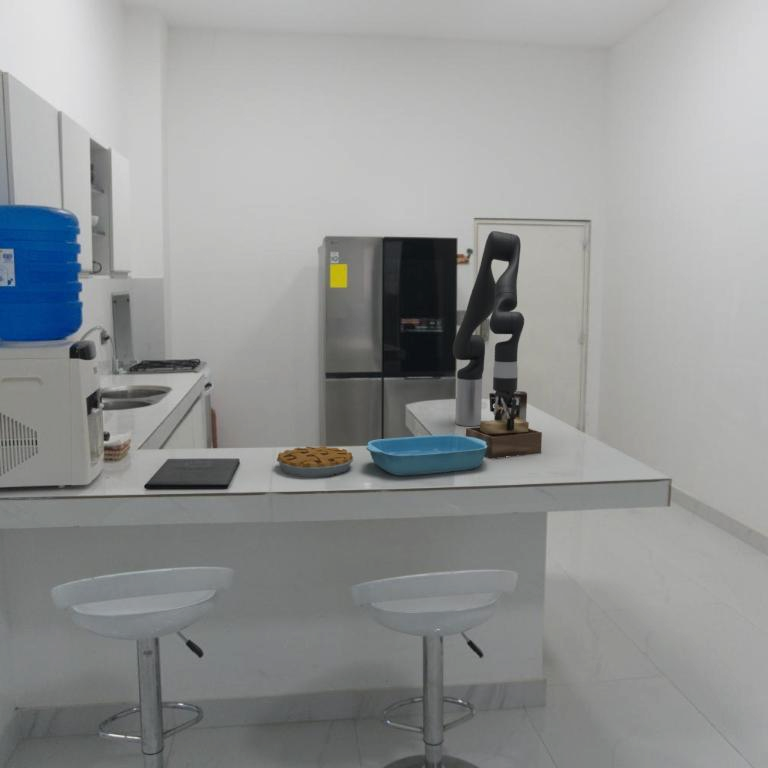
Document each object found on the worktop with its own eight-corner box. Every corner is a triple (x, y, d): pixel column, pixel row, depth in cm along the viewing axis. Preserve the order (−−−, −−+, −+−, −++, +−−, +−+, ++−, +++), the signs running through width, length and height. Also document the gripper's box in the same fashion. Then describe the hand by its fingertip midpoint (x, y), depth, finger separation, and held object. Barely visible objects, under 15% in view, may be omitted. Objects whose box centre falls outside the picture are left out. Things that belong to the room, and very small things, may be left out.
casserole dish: (464, 452, 233) (465, 430, 232) (501, 470, 213) (502, 445, 212) (354, 463, 220) (354, 439, 219) (383, 483, 199) (383, 457, 198)
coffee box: (498, 440, 250) (499, 393, 247) (497, 436, 256) (498, 390, 253) (525, 441, 249) (527, 393, 246) (524, 437, 255) (525, 390, 253)
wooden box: (465, 448, 238) (466, 428, 237) (512, 442, 246) (513, 423, 245) (492, 458, 225) (492, 437, 224) (541, 452, 233) (541, 432, 232)
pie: (367, 472, 210) (367, 455, 209) (297, 483, 198) (296, 465, 198) (331, 456, 228) (331, 440, 227) (264, 465, 217) (264, 448, 216)
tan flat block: (521, 428, 239) (521, 419, 238) (528, 431, 233) (528, 422, 233) (480, 430, 235) (480, 421, 235) (486, 433, 230) (486, 424, 230)
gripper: (529, 377, 227) (527, 431, 229) (502, 372, 240) (500, 423, 242) (509, 379, 224) (507, 433, 226) (482, 373, 237) (481, 425, 239)
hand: (503, 427), depth 234 cm, fingers closed on tan flat block, 6 cm apart
